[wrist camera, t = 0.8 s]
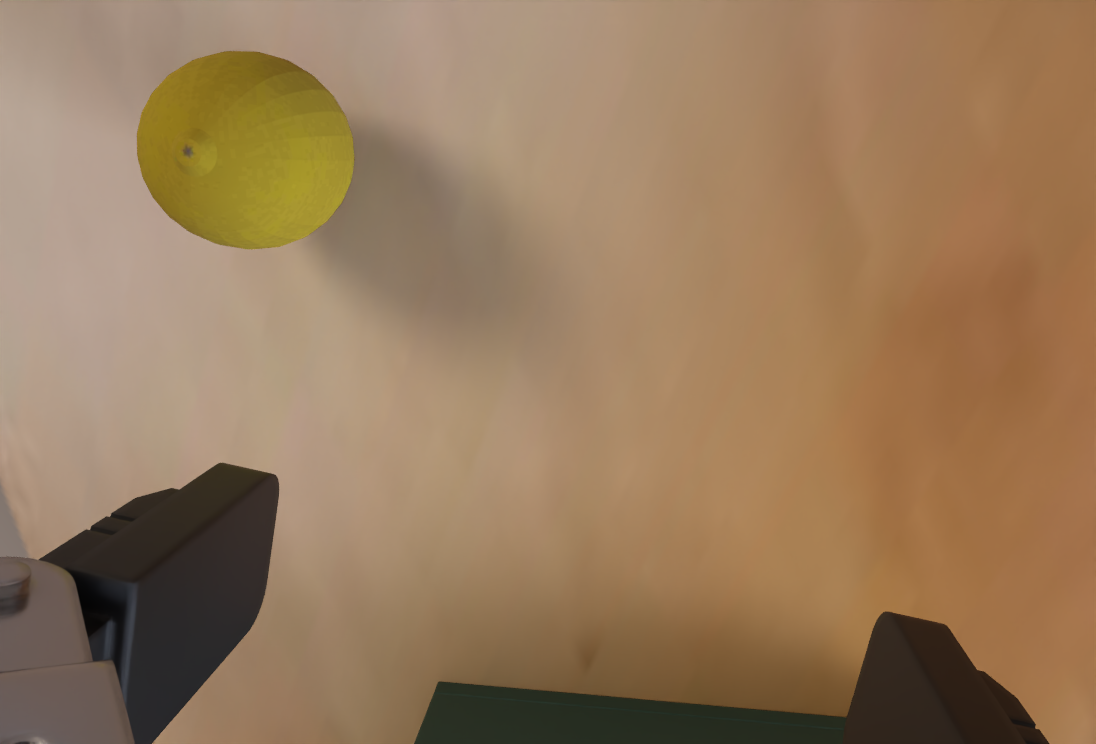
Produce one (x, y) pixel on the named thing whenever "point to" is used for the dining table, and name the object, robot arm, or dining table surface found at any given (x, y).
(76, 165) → the dining table surface
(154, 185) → the lemon
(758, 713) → the green tray
